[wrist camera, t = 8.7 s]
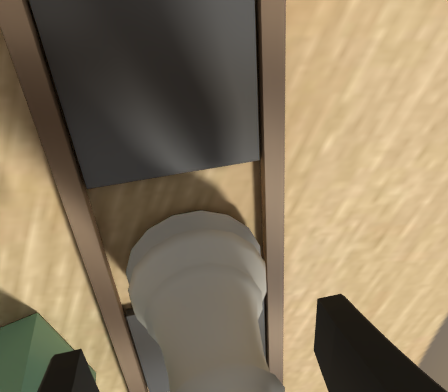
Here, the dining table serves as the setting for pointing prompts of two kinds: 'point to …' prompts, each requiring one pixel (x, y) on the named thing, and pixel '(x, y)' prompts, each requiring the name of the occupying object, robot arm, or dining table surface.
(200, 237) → the rook chess piece
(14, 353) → the green die
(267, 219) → the track board
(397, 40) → the dining table surface
